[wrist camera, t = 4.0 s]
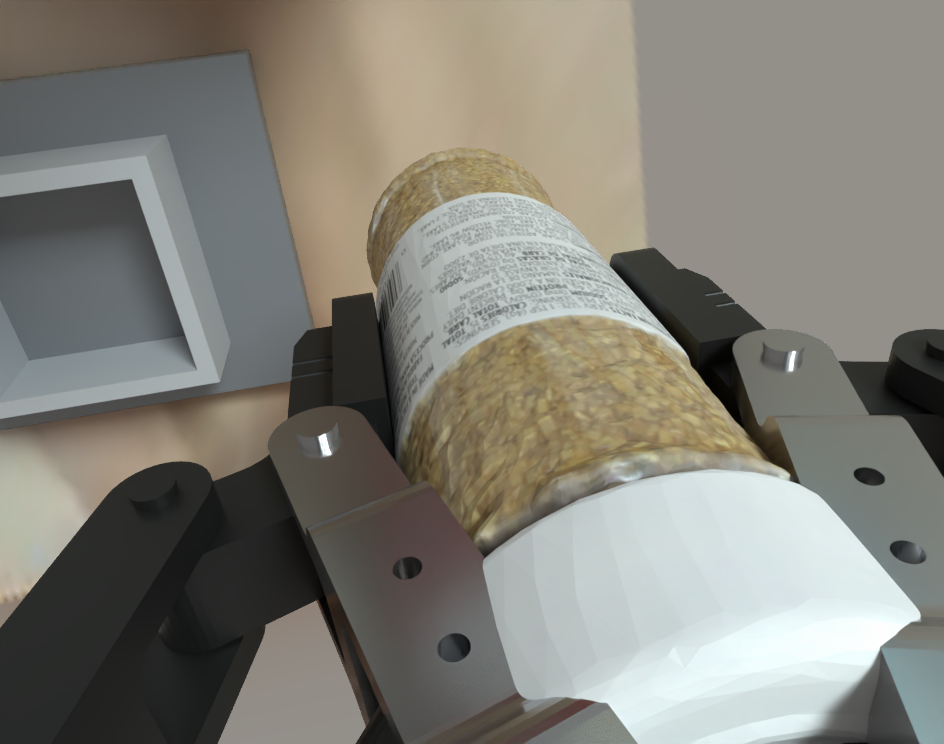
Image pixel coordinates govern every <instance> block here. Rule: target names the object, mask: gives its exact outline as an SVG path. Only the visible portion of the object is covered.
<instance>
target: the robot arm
mask: <svg viewBox="0 0 944 744" xmlns="http://www.w3.org/2000/svg"><path fill="white" fill-rule="evenodd" d="M610 267H611V268H612V269H613V270H614V271H615V273H616V274H617V275H618V276H619V277H620V278H621V279H622V280H623V281H624V283H625V284H626V285H627V286H628V287H629V288H630V289H631V290H632V292H633V293H634V294H635V295H636V296H637V297H638V298H639V299H640V301H641V302H642V303H643V304H644V305H645V306H646V307H647V309H648V310H649V311H650V312H651V313H652V314H653V315H654V316H655V318H656V319H657V320H658V321H659V322H660V323H661V324H662V325H663V327H664V328H665V329H666V330H667V331H668V332H669V333H670V335H671V336H672V337H673V338H674V339H675V340H676V342H677V343H678V344H679V345H680V346H681V347H682V349H683V350H684V351H685V353H686V354H687V356H688V358H689V361H690V364H691V367H692V368H693V369H694V370H695V371H696V372H697V373H698V375H699V376H700V377H701V379H702V380H703V382H704V383H705V385H706V386H707V387H708V388H709V389H710V390H711V392H712V393H713V394H714V395H715V396H716V397H717V398H718V399H719V401H720V402H721V403H722V404H723V406H724V407H725V409H726V410H727V411H728V413H729V414H730V415H731V417H732V418H733V419H734V421H735V422H736V423H738V424H739V425H740V426H741V427H742V428H743V429H744V430H745V432H746V433H747V434H748V435H749V436H750V437H751V438H752V439H753V440H754V441H755V443H756V444H757V446H758V447H759V448H760V449H761V450H762V451H763V452H764V453H765V454H766V456H767V457H768V459H769V460H770V461H771V462H772V463H773V464H774V465H776V466H778V467H780V468H783V469H785V470H786V471H788V472H789V473H790V474H792V475H793V478H794V483H797V484H799V485H801V486H803V487H805V488H807V489H808V490H810V491H812V492H814V493H816V494H818V495H819V496H820V497H821V498H822V499H823V500H824V501H825V502H826V503H827V504H828V505H829V507H830V508H831V509H832V510H833V511H834V512H835V513H836V514H837V516H838V517H839V518H840V519H841V520H842V521H843V522H844V523H845V524H846V526H847V527H848V528H849V529H850V530H851V531H852V533H853V534H854V535H855V536H856V537H857V538H858V540H859V541H860V542H861V543H862V544H863V545H864V547H865V548H866V549H867V550H868V551H869V552H870V554H871V555H872V556H873V557H874V558H875V559H876V561H877V562H878V563H879V564H880V565H881V566H882V568H883V569H884V570H885V571H886V572H887V573H888V575H889V576H890V577H891V578H892V579H893V580H894V582H895V583H896V584H897V585H898V586H899V587H900V589H901V590H902V591H903V592H904V593H905V594H906V596H907V597H908V598H909V599H910V600H911V601H912V603H913V604H914V605H915V606H916V607H917V609H918V610H919V612H920V615H921V617H920V619H918V620H916V621H912V622H910V623H909V624H907V625H906V626H905V627H903V628H902V629H901V630H899V631H898V633H897V634H896V635H895V636H893V637H892V638H891V639H889V640H888V641H887V642H885V643H884V644H883V645H882V646H880V650H881V657H880V671H879V677H878V683H877V686H876V690H875V694H874V697H873V701H872V705H871V708H870V712H869V716H868V733H867V736H866V738H867V741H868V743H842V744H944V330H938V329H924V330H915V331H911V332H907V333H904V334H902V335H900V336H898V338H896V339H895V340H894V342H893V345H892V349H891V353H890V357H889V361H888V362H848V361H847V362H846V361H838V360H837V358H836V356H835V354H834V352H833V351H832V349H831V348H830V347H829V346H828V345H827V344H826V343H824V342H823V341H821V340H820V339H817V338H815V337H813V336H811V335H808V334H805V333H801V332H797V331H791V330H783V329H766V328H764V327H763V326H762V325H761V324H760V323H759V322H758V321H757V320H755V319H754V318H753V317H752V316H751V315H750V314H749V313H748V312H746V311H745V310H744V309H743V308H742V307H741V306H740V305H738V304H735V301H734V300H733V299H732V298H731V297H729V296H728V295H727V294H726V293H723V291H722V289H720V288H719V287H718V286H717V285H716V284H715V283H713V281H711V280H710V279H709V278H708V277H705V276H703V275H700V274H698V273H695V272H693V271H690V270H688V269H685V268H684V269H677V268H676V267H675V266H674V265H672V264H671V263H670V262H669V261H668V260H667V259H666V258H665V257H664V256H663V255H662V254H661V253H660V252H659V251H658V250H656V249H655V248H647V249H641V250H635V251H629V252H622V253H616V254H613V256H612V257H611V260H610ZM292 363H293V366H292V374H291V377H292V379H291V385H290V397H289V408H288V419H287V420H286V421H284V422H283V423H282V424H280V425H279V426H278V427H277V428H276V429H275V430H274V431H273V433H272V435H271V436H270V438H269V441H268V450H269V455H268V456H267V457H266V458H264V459H263V460H261V461H260V462H258V463H256V464H254V465H253V466H251V467H248V468H246V469H244V470H242V471H239V472H237V473H234V474H231V475H229V476H226V477H224V478H221V479H219V480H216V481H214V482H213V480H212V478H211V475H210V473H209V472H208V470H207V469H206V468H204V467H203V466H201V465H199V464H196V463H192V462H182V461H180V462H169V463H163V464H159V465H155V466H152V467H150V468H147V469H144V470H142V471H140V472H138V473H135V474H134V475H132V476H130V477H128V478H127V479H125V480H124V481H122V482H121V483H120V484H118V485H117V486H116V487H115V488H114V489H112V491H111V492H110V493H109V494H108V495H107V496H106V497H105V498H104V500H103V501H102V502H101V503H100V505H99V506H98V507H97V508H96V510H95V511H94V512H93V513H92V515H91V516H90V517H89V518H88V520H87V521H86V522H85V523H84V525H83V526H82V527H81V528H80V530H79V531H78V532H77V533H76V535H75V536H74V537H73V538H72V540H71V541H70V542H69V543H68V545H67V546H66V547H65V548H64V549H63V551H62V552H61V553H60V554H59V556H58V557H57V558H56V559H55V561H54V562H53V563H52V564H51V566H50V567H49V568H48V569H47V571H46V572H45V573H44V574H43V576H42V577H41V578H40V579H39V581H38V582H37V583H36V584H35V586H34V587H33V588H32V589H31V591H30V592H29V593H28V594H27V595H26V597H25V598H24V599H23V600H22V602H21V603H20V604H19V606H18V607H17V608H16V609H15V610H14V612H13V613H12V614H11V615H10V617H9V618H8V619H7V620H6V622H5V623H4V624H3V625H2V627H1V628H0V744H218V741H219V739H220V737H221V734H222V732H223V730H224V727H225V725H226V723H227V720H228V718H229V715H230V713H231V711H232V709H233V706H234V704H235V702H236V699H237V697H238V695H239V692H240V690H241V688H242V685H243V683H244V681H245V678H246V676H247V674H248V671H249V669H250V667H251V664H252V662H253V660H254V658H255V655H256V653H257V651H258V648H259V646H260V644H261V641H262V639H263V635H264V633H265V625H266V624H268V623H270V622H272V621H274V620H276V619H278V618H281V617H283V616H285V615H287V614H289V613H291V612H293V611H295V610H297V609H299V608H301V607H303V606H306V605H308V604H310V603H312V602H314V601H317V603H318V605H319V608H320V610H321V613H322V615H323V617H324V620H325V623H326V625H327V627H328V630H329V632H330V635H331V637H332V640H333V642H334V644H335V647H336V649H337V652H338V654H339V657H340V659H341V662H342V664H343V666H344V669H345V671H346V673H347V676H348V679H349V681H350V684H351V686H352V689H353V692H354V694H355V697H356V700H357V703H358V706H359V708H360V711H361V714H362V717H363V720H364V722H365V725H366V728H365V730H364V731H363V733H362V734H361V736H360V738H359V739H358V741H357V743H356V744H638V743H637V742H636V741H635V739H634V738H633V737H632V735H631V734H630V733H629V731H628V730H627V729H626V727H625V726H624V725H623V723H622V722H621V721H620V719H619V718H618V717H617V715H616V714H615V713H614V711H613V710H612V709H611V707H610V706H609V705H608V704H607V703H600V702H596V701H591V700H586V699H576V698H569V697H551V698H546V699H539V700H529V699H526V698H524V697H522V696H521V695H520V694H519V693H518V691H517V689H516V687H515V684H514V681H513V678H512V675H511V672H510V668H509V665H508V662H507V659H506V655H505V652H504V649H503V646H502V642H501V639H500V636H499V633H498V629H497V626H496V622H495V618H494V614H493V610H492V605H491V601H490V597H489V593H488V589H487V584H486V580H485V576H484V571H483V560H484V559H485V558H484V556H483V555H482V554H481V552H480V551H479V550H478V548H477V547H476V545H475V544H474V543H473V541H472V540H471V539H470V537H469V536H468V534H467V533H466V532H465V530H464V529H463V528H462V526H461V525H460V523H459V522H458V521H457V519H456V518H455V517H454V515H453V514H452V512H451V511H450V510H449V508H448V507H447V506H446V504H445V503H444V501H443V500H442V499H441V497H440V496H439V495H438V493H437V492H436V490H435V489H434V488H433V487H432V485H431V484H430V483H429V482H427V481H425V480H423V481H421V482H418V483H416V484H413V485H411V484H410V482H409V481H408V479H407V478H406V476H405V475H404V473H403V472H402V471H401V469H400V468H399V466H398V465H397V463H396V461H395V445H394V437H393V429H392V422H391V414H390V407H389V399H388V391H387V384H386V376H385V368H384V361H383V353H382V346H381V338H380V330H379V323H378V318H377V313H376V307H375V302H374V297H373V293H365V294H359V295H353V296H347V297H341V298H334V299H332V326H329V327H323V328H317V329H311V330H307V331H306V332H305V333H304V335H303V336H302V337H301V338H300V339H299V341H298V342H297V343H296V344H295V346H294V351H293V362H292ZM462 659H463V660H462Z"/></svg>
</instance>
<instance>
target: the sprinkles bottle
mask: <svg viewBox="0 0 944 744" xmlns="http://www.w3.org/2000/svg"><path fill="white" fill-rule="evenodd" d="M367 259H368V263H369V266H370V270H371V275H372V279H373V281H374V283H375V285H376V287H377V298H376V310H377V318H378V323H379V330H380V338H381V346H382V353H383V361H384V368H385V376H386V384H387V391H388V399H389V407H390V414H391V422H392V429H393V437H394V445H395V461H396V463H397V465H398V466H399V468H400V469H401V471H402V472H403V473H404V475H405V476H406V478H407V479H408V481H409V482H410V484H411V485H413V484H416V483H418V482H421V481H423V480H425V481H427V482H429V483H430V484H431V485H432V487H433V488H434V489H435V490H436V492H437V493H438V495H439V496H440V497H441V499H442V500H443V501H444V503H445V504H446V506H447V507H448V508H449V510H450V511H451V512H452V514H453V515H454V517H455V518H456V519H457V521H458V522H459V523H460V525H461V526H462V528H463V529H464V530H465V532H466V533H467V534H468V536H469V537H470V539H471V540H472V541H473V543H474V544H475V545H476V547H477V548H478V550H479V551H480V552H481V554H482V555H483V556H484V558H485V559H484V560H483V571H484V576H485V580H486V584H487V589H488V593H489V597H490V601H491V605H492V610H493V614H494V618H495V622H496V626H497V629H498V633H499V636H500V639H501V642H502V646H503V649H504V652H505V655H506V659H507V662H508V665H509V668H510V672H511V675H512V678H513V681H514V684H515V687H516V689H517V691H518V693H519V694H520V695H521V696H522V697H524V698H526V699H529V700H539V699H546V698H551V697H569V698H576V699H586V700H591V701H596V702H600V703H607V704H608V705H609V706H610V707H611V709H612V710H613V711H614V713H615V714H616V715H617V717H618V718H619V719H620V721H621V722H622V723H623V725H624V726H625V727H626V729H627V730H628V731H629V733H630V734H631V735H632V737H633V738H634V739H635V741H636V742H637V743H638V744H842V743H868V741H867V738H866V736H867V733H868V716H869V712H870V708H871V705H872V701H873V697H874V694H875V690H876V686H877V683H878V677H879V671H880V657H881V650H880V646H882V645H883V644H884V643H885V642H887V641H888V640H889V639H891V638H892V637H893V636H895V635H896V634H897V633H898V631H899V630H901V629H902V628H903V627H905V626H906V625H907V624H909V623H910V622H912V621H916V620H918V619H920V617H921V615H920V612H919V610H918V609H917V607H916V606H915V605H914V604H913V603H912V601H911V600H910V599H909V598H908V597H907V596H906V594H905V593H904V592H903V591H902V590H901V589H900V587H899V586H898V585H897V584H896V583H895V582H894V580H893V579H892V578H891V577H890V576H889V575H888V573H887V572H886V571H885V570H884V569H883V568H882V566H881V565H880V564H879V563H878V562H877V561H876V559H875V558H874V557H873V556H872V555H871V554H870V552H869V551H868V550H867V549H866V548H865V547H864V545H863V544H862V543H861V542H860V541H859V540H858V538H857V537H856V536H855V535H854V534H853V533H852V531H851V530H850V529H849V528H848V527H847V526H846V524H845V523H844V522H843V521H842V520H841V519H840V518H839V517H838V516H837V514H836V513H835V512H834V511H833V510H832V509H831V508H830V507H829V505H828V504H827V503H826V502H825V501H824V500H823V499H822V498H821V497H820V496H819V495H818V494H816V493H814V492H812V491H810V490H808V489H807V488H805V487H803V486H801V485H799V484H797V483H794V478H793V475H792V474H790V473H789V472H788V471H786V470H785V469H783V468H780V467H778V466H776V465H774V464H773V463H772V462H771V461H770V460H769V459H768V457H767V456H766V454H765V453H764V452H763V451H762V450H761V449H760V448H759V447H758V446H757V444H756V443H755V441H754V440H753V439H752V438H751V437H750V436H749V435H748V434H747V433H746V432H745V430H744V429H743V428H742V427H741V426H740V425H739V424H738V423H736V422H735V421H734V419H733V418H732V417H731V415H730V414H729V413H728V411H727V410H726V409H725V407H724V406H723V404H722V403H721V402H720V401H719V399H718V398H717V397H716V396H715V395H714V394H713V393H712V392H711V390H710V389H709V388H708V387H707V386H706V385H705V383H704V382H703V380H702V379H701V377H700V376H699V375H698V373H697V372H696V371H695V370H694V369H693V368H692V367H691V364H690V361H689V358H688V356H687V354H686V353H685V351H684V350H683V349H682V347H681V346H680V345H679V344H678V343H677V342H676V340H675V339H674V338H673V337H672V336H671V335H670V333H669V332H668V331H667V330H666V329H665V328H664V327H663V325H662V324H661V323H660V322H659V321H658V320H657V319H656V318H655V316H654V315H653V314H652V313H651V312H650V311H649V310H648V309H647V307H646V306H645V305H644V304H643V303H642V302H641V301H640V299H639V298H638V297H637V296H636V295H635V294H634V293H633V292H632V290H631V289H630V288H629V287H628V286H627V285H626V284H625V283H624V281H623V280H622V279H621V278H620V277H619V276H618V275H617V274H616V273H615V271H614V270H613V269H612V268H611V267H610V266H609V265H608V263H607V262H606V261H605V260H604V259H603V258H602V256H601V255H600V254H599V253H598V252H597V251H596V250H595V248H594V247H593V246H592V245H591V244H590V243H589V242H588V241H587V240H586V238H585V237H584V236H583V235H582V234H581V233H580V232H579V230H578V229H577V228H576V227H575V226H574V225H573V224H572V223H571V222H570V221H569V220H568V219H567V218H566V217H564V216H563V215H562V214H560V213H559V212H558V211H557V210H556V209H555V208H554V207H553V205H552V203H551V201H550V199H549V196H548V194H547V193H546V192H545V190H544V189H543V188H542V186H541V184H540V183H539V182H538V181H537V180H536V179H535V177H534V176H533V175H532V174H530V173H529V172H527V171H526V170H525V169H524V168H523V167H521V166H520V165H519V164H518V163H517V162H515V161H514V160H513V159H511V158H509V157H508V156H505V155H501V154H496V153H492V152H490V151H487V150H483V149H468V148H456V149H450V150H446V151H441V152H436V153H431V154H429V155H428V156H426V157H425V158H423V159H421V160H419V161H417V162H415V163H413V164H412V165H410V166H409V167H408V168H406V169H405V170H404V171H403V172H402V173H401V174H399V175H398V176H397V177H396V178H395V179H394V180H393V181H392V182H391V184H390V185H389V186H388V188H387V189H386V190H385V191H384V192H383V194H382V195H381V197H380V199H379V201H378V202H377V204H376V206H375V208H374V211H373V216H372V220H371V222H370V225H369V229H368V242H367ZM462 660H463V659H462Z"/></svg>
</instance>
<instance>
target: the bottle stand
mask: <svg viewBox="0 0 944 744" xmlns="http://www.w3.org/2000/svg"><path fill="white" fill-rule="evenodd" d="M311 329H315V328H314V324H313V319H312V315H311V311H310V307H309V302H308V298H307V294H306V290H305V286H304V281H303V277H302V273H301V269H300V265H299V260H298V256H297V252H296V248H295V243H294V239H293V235H292V231H291V227H290V222H289V218H288V214H287V210H286V205H285V201H284V197H283V193H282V189H281V184H280V180H279V176H278V172H277V168H276V163H275V159H274V155H273V151H272V146H271V142H270V138H269V134H268V130H267V125H266V121H265V117H264V113H263V108H262V104H261V100H260V96H259V92H258V87H257V83H256V79H255V75H254V71H253V66H252V62H251V58H250V54H249V50H244V51H236V52H228V53H220V54H212V55H204V56H195V57H187V58H179V59H171V60H163V61H155V62H147V63H139V64H131V65H123V66H115V67H107V68H99V69H91V70H83V71H75V72H67V73H59V74H51V75H43V76H35V77H27V78H19V79H11V80H3V81H0V430H5V429H11V428H17V427H23V426H29V425H35V424H40V423H46V422H52V421H58V420H64V419H70V418H76V417H82V416H88V415H94V414H100V413H106V412H112V411H118V410H123V409H129V408H135V407H141V406H147V405H153V404H159V403H165V402H171V401H177V400H183V399H189V398H195V397H200V396H206V395H212V394H218V393H224V392H230V391H236V390H242V389H248V388H254V387H260V386H266V385H272V384H277V383H283V382H289V381H291V379H292V377H291V374H292V366H293V363H292V362H293V351H294V346H295V344H296V343H297V342H298V341H299V339H300V338H301V337H302V336H303V335H304V333H305V332H306V331H307V330H311Z"/></svg>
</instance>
